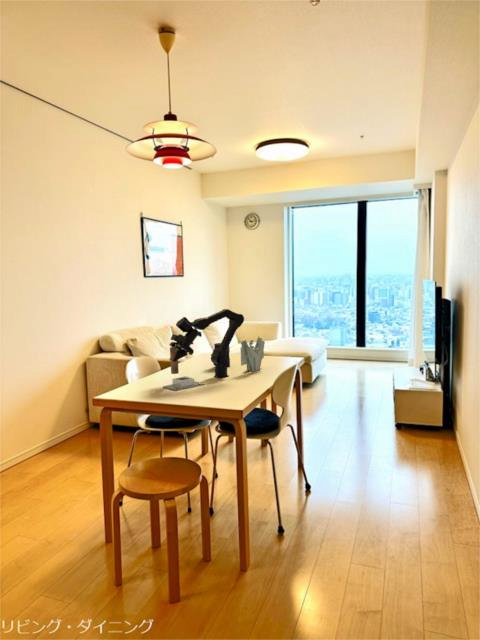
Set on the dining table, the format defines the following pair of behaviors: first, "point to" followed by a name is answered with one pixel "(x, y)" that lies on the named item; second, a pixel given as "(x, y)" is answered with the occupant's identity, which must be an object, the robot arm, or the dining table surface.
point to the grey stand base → (182, 383)
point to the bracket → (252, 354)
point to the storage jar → (226, 352)
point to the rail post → (173, 364)
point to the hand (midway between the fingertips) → (171, 360)
